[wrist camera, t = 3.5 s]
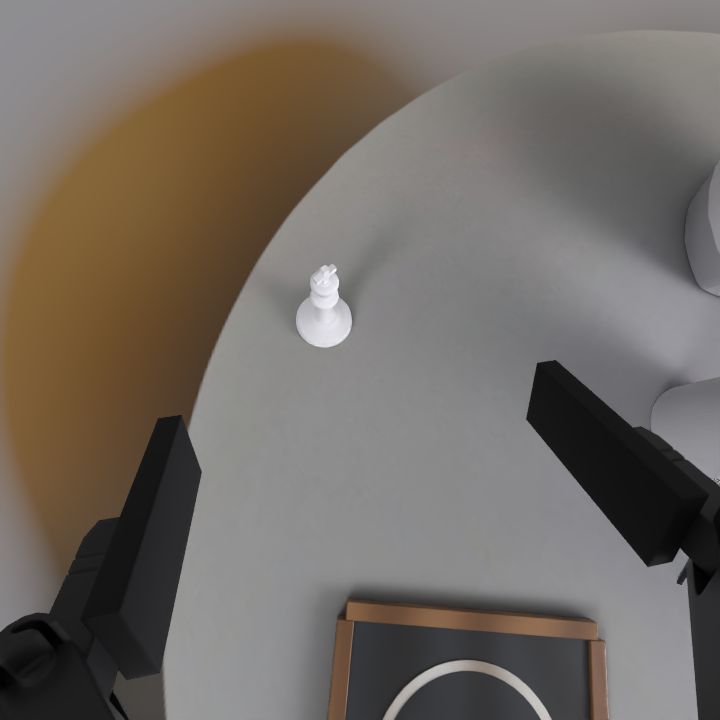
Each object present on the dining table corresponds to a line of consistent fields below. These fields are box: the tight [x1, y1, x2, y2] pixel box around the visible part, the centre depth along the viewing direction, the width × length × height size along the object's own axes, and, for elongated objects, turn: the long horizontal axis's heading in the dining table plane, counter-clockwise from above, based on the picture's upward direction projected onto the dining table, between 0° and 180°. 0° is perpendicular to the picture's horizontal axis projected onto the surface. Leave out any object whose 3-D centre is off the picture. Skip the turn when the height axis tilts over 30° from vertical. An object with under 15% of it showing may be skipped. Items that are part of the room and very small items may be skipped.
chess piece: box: [296, 264, 352, 347], centre depth 32 cm, size 5×5×10 cm
